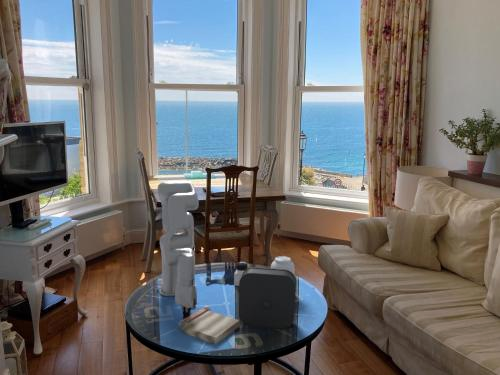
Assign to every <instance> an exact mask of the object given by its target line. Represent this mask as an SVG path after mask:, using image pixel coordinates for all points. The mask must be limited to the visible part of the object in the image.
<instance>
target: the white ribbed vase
mask: <svg viewBox="0 0 500 375" xmlns="http://www.w3.org/2000/svg"><path fill="white" fill-rule="evenodd" d="M270 268H271V269H284V270H289V271H290V272H292V273H293V274H294V275H295V272H296V271H295V270H296V269H295V268H296V266H295V263H294V262H293V261H292V258H291V257H289V256H285V255H280V256H276V257H275V258H274V260H273V262H272V263H271V264H270Z"/></svg>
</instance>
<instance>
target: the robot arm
mask: <svg viewBox="0 0 500 375" xmlns="http://www.w3.org/2000/svg"><path fill="white" fill-rule="evenodd" d="M157 195H158V197H159V200H160V203H161V216H162V218H161V219H162V220H161V221H162V229H163V230H164V231H165V232H166V233H165V234H163V235H162V236H160V238H159V245H160V246H159V248H160V251H161V252H160V253H161V280H160V279H159V281H158V283H157V284H156V285H157V286H160V288H159V290H158V291H159V294H160V295H161V296H164V297H174V302H175V304H177V305H178V306H179V307H180V308H181V311H182V320H183V319H185V318H187V317H188V316H190V315H191V311H194V310H197V308H196V307H197V305H198V294H197V293H198V292H197V291H198V290H197V285H196V253H195V251H194V247H195V246H194V245H195V225H194V224H195V222H194V221H195V220H194V216H193V214H192V213H191V212H189V211H195V210H197V209H198V208H199V202H200V201H199V197H198V193H197V191H196V188H195V186H194V183H193V182H191V181H189V180H183V181H181V180H179V181H178V180H177V181H175V180H174V181H164V182H160V183H159V184H158V186H157ZM181 231H184V232H181Z"/></svg>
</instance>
